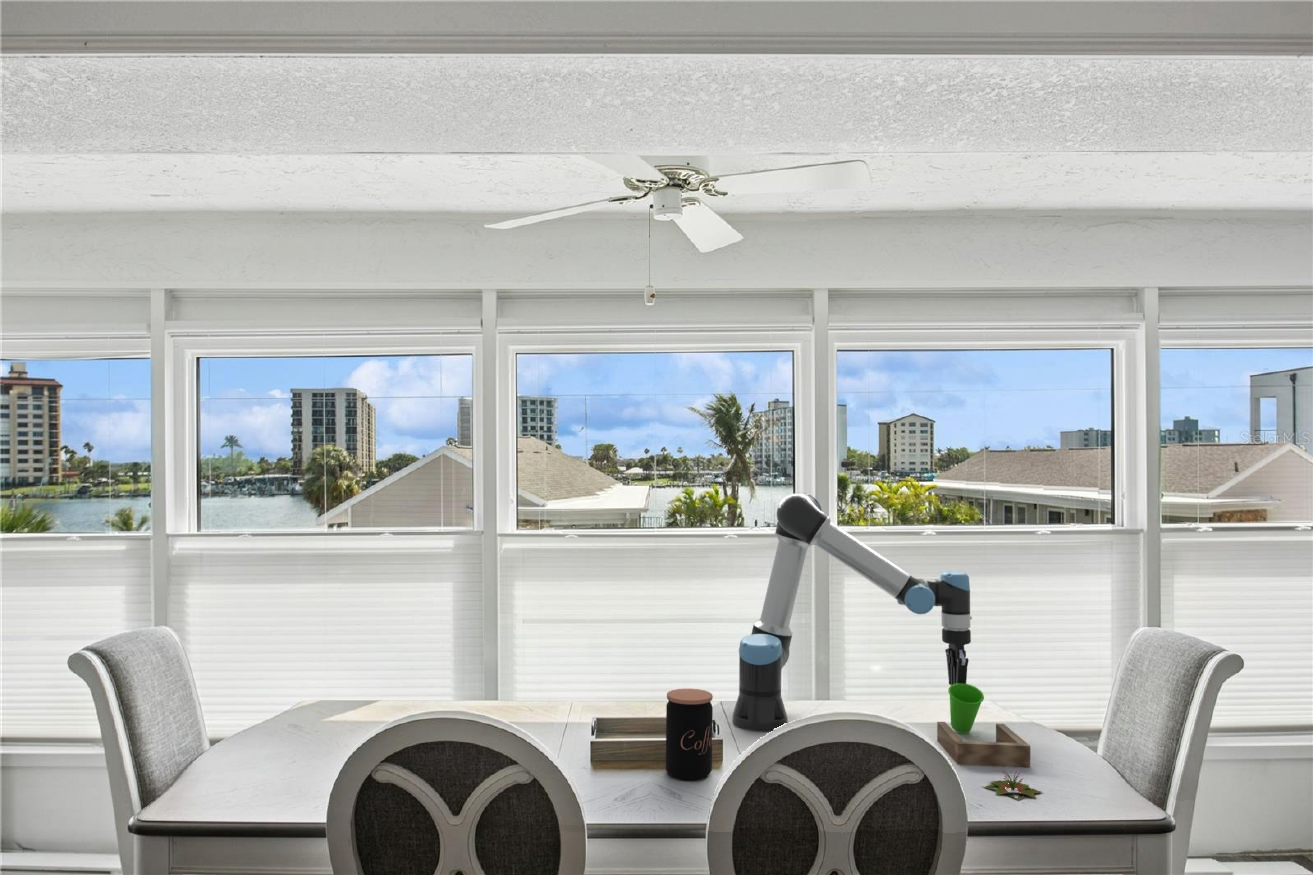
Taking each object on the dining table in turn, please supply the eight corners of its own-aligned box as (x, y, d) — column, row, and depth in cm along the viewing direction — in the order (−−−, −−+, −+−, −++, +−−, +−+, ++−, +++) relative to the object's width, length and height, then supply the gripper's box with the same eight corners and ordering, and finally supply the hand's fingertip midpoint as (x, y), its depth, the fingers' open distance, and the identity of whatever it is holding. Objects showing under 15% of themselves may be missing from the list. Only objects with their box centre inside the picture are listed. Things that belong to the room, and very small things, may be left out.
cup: (974, 718, 229) (979, 684, 226) (982, 740, 221) (987, 705, 217) (940, 715, 230) (945, 681, 227) (947, 736, 222) (952, 702, 218)
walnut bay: (957, 764, 199) (957, 743, 200) (937, 741, 217) (937, 721, 218) (1030, 767, 198) (1030, 746, 199) (1003, 743, 216) (1003, 723, 217)
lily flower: (1054, 796, 182) (1054, 775, 182) (1020, 807, 175) (1020, 785, 175) (1005, 779, 192) (1005, 759, 192) (971, 789, 185) (971, 768, 186)
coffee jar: (679, 785, 184) (680, 702, 184) (657, 769, 193) (658, 691, 194) (720, 777, 189) (721, 697, 189) (696, 763, 198) (697, 686, 199)
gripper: (977, 633, 225) (979, 721, 224) (962, 623, 237) (964, 707, 237) (949, 632, 225) (950, 721, 224) (935, 623, 238) (937, 707, 237)
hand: (957, 714), depth 230 cm, fingers closed
